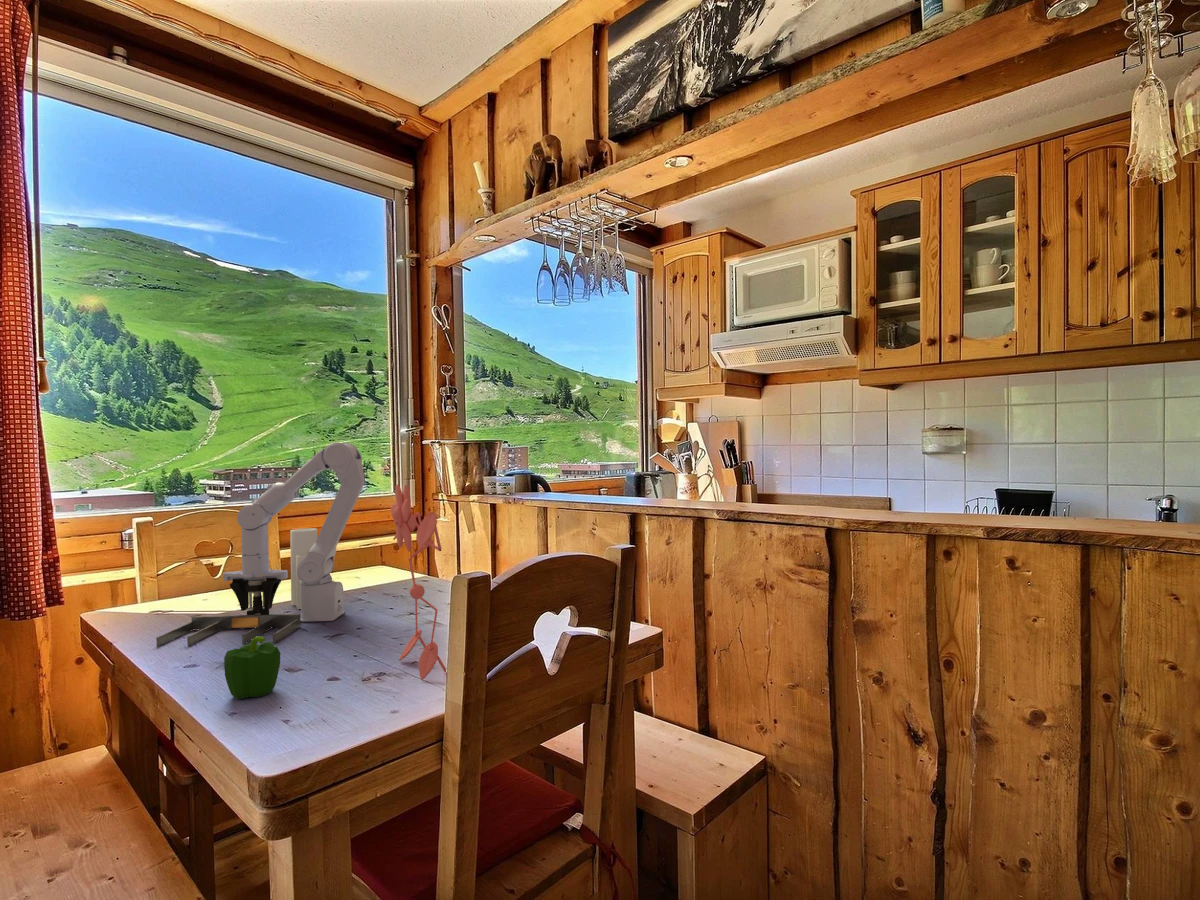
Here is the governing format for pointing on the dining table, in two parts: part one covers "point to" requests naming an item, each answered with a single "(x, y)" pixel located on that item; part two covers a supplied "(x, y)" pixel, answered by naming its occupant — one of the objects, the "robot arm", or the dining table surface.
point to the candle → (299, 557)
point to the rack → (235, 626)
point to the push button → (256, 598)
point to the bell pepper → (252, 669)
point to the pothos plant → (427, 527)
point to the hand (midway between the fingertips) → (256, 609)
